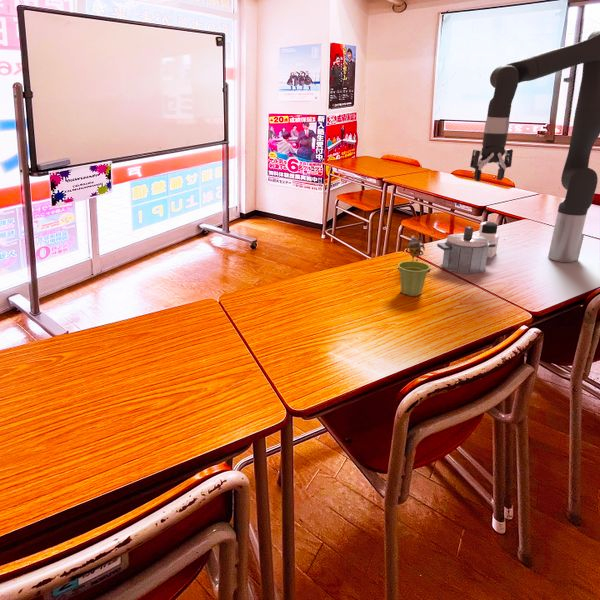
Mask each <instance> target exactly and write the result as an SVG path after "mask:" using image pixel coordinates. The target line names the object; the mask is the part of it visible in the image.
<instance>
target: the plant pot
mask: <svg viewBox="0 0 600 600" xmlns="http://www.w3.org/2000/svg"><path fill="white" fill-rule="evenodd" d="M398 267H399V268H398ZM397 268H398V269H399V273H400V274H399V275H400V291H401V294H404V295H405V294H406V295H407V296H411V297H412V296H413V297H414V296H419V295H420V294H421V295H422V292H423V289H424V285H425V281H426V277H427V274H428V273H429V272H428V270H429V269H430V270H431V265H429V264H428V263H425V262H423V261H422V262H421V261H415V260H414V261H412V260H407V261H406V260H405V261H401V262H399V263H398V264H397Z"/></svg>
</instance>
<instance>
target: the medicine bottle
mask: <svg viewBox="0 0 600 600" xmlns="http://www.w3.org/2000/svg"><path fill="white" fill-rule="evenodd" d="M497 231H498V224H497V223H495V222H493V221H483V222H480V224H479V230H478V233H477V235H479V236H482V237H485V238H486V239H488V240H489V241H491V242H493V243H495V244H496V246H495V247H488V253H487V258H490V259H492V258H493V257H494V256H495V255H496V254H497V250H498V245H499V244H498V243H499V239H500V236H499V235H498V234H497V233H498V232H497Z"/></svg>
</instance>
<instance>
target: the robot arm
mask: <svg viewBox="0 0 600 600" xmlns="http://www.w3.org/2000/svg"><path fill="white" fill-rule="evenodd" d="M582 64H583V65H582ZM578 65H582V75H581V81H580V86H579V90H578V96H577V97H578V98H577V102H576V107H575V110H574V111H575V112H574V116H573V117H574V118H573V125H572V129H571V135H570V142H569V147H568V152H567V157H566V160H565V162H564V167H563V170H562V173H561V178H560V179H561V180H560V181H561V185H562V187H563V188H564V189H565V190H566V194H565V198H564V200H563V201H562V202H560V203H559V204H558V207H557V208H558V209H557V213H556V218H555V221H554V222H555V223H554V226H553V232H552V236H551V241H550V245H549V251H548V255H547V257H548V259H550V260H553V261H555V262H558V263H559V262H560V263H574V262H576V261H579V258H580V254H581V249H582V245H583V241H584V237H585V235H584V234H583V230H584V227H585V223H586V217H587V214H588V211H589V209H590V207H591V206H592V204H593V200H594V197H595V194H596V190H597V186H598V182H599V181H598V180H599V179H598V174H597V172H596V171H595V170H594V169H593V168H590V167H589V164H590V158H591V153H592V149H593V146H594V145H595V143H596V141H597V139H598V138H599V137H600V28H597V29H596V30H594V31H592V32H591V33H590V34H589V36H588V37H587V39H585V40H583V41H579V42H577V43H574V44H570V45H566V46H563V47H557V48H555V49H550V50H547V51H544V52H541V53H539V54H535V55H532V56H529V57H527V58H524V59H522V60H518V61H514V62H510V63H506V64H503V65H500V66H498V67H496V68H495V69H494V70H493V71H492V72H491V74H490V77H489V82H490V85H491V86H492V87H493V88H494V91H493V97H492V98H491V99H490V100H489V103H488V109H487V114H486V115H487V116H486V120H485V124H484V129H483V136H482V137H483V138H482V143H481V144H482V148H481V149H479V150H478V149H473V151H472V154H471V159H470V166H469V167H470V168H471V169H474V176H473V178H474V180H475V182H481V178H482V169H483V168H484V166H486V165H487V164H492V163H494V164H497V166H498V170H497V176H496V180H497V181H503V179H504V178H505V171H506V169H507V168H511V167H512V162H513V161H512V160H513V152H514V150H513V149H512V148H506V149H505V147H506V145H507V139H508V134H509V127H510V115H511V111H512V103H513V100H514V98H515V95H516V92H517V89H518V86H519V84H520V83H522V82H529V81H530V82H531V81H534V80H537V79H541V78H544V77H547V76H549V75H552V74H555V73H557V72H560V71H563V70H566V69H569V68H572V67H574V66H578ZM503 157H504V158H503Z"/></svg>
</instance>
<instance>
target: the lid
mask: <svg viewBox="0 0 600 600" xmlns="http://www.w3.org/2000/svg"><path fill="white" fill-rule="evenodd" d="M463 230H464V233H453V234H449V235H447V237H446V238H447V242H448V243H450V244H452V245H456V246H460V247H467V248H480V247H485V246H487V245H488V239H486V238H485V237H482V236H479V235H478V234H474V227H473V226H465V227H464V229H463Z"/></svg>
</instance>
